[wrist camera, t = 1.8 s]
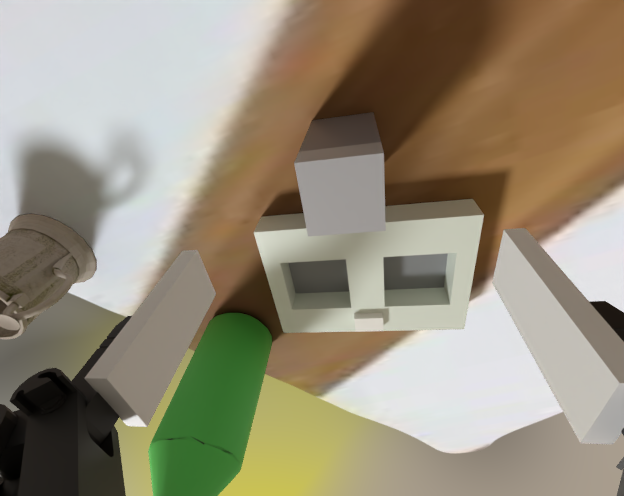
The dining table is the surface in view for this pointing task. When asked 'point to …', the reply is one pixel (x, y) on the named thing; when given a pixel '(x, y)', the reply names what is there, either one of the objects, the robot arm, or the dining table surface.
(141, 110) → the dining table surface
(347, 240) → the socket plate
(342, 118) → the plug
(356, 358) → the dining table surface
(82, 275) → the mug
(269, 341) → the bottle
